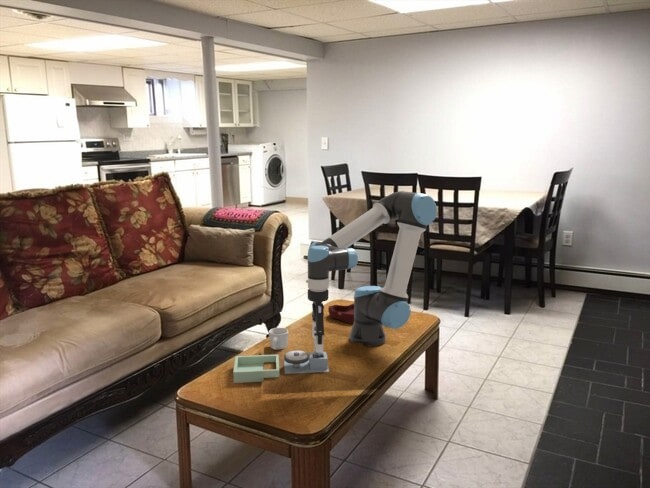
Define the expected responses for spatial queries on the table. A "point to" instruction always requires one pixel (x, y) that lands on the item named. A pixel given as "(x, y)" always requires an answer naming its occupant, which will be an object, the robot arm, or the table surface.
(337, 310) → the ashtray
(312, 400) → the table surface
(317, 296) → the robot arm
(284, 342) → the cup
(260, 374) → the tray
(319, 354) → the dark capped cylinder
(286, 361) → the block
